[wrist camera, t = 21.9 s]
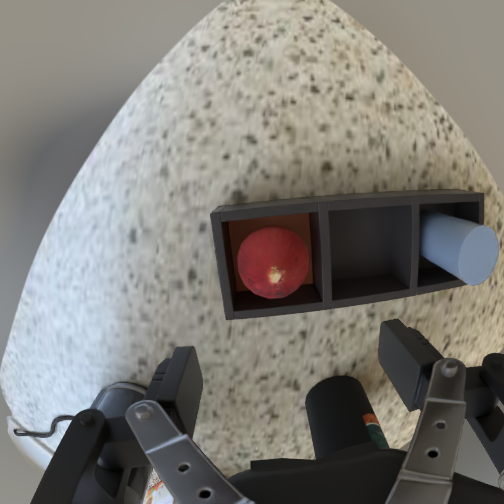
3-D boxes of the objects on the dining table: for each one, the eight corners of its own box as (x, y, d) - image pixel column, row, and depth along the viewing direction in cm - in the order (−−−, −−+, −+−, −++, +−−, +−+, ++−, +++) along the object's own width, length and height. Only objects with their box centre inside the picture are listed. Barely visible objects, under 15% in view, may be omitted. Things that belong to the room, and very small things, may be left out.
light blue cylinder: (407, 259, 28) (455, 290, 20) (408, 211, 27) (460, 227, 18) (444, 254, 28) (495, 280, 19) (445, 208, 27) (500, 223, 18)
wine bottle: (316, 372, 32) (377, 629, 3) (372, 377, 33) (466, 590, 4) (297, 416, 34) (326, 635, 5) (349, 419, 35) (407, 613, 6)
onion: (303, 277, 29) (319, 314, 21) (242, 282, 29) (238, 321, 21) (300, 217, 27) (317, 234, 19) (236, 222, 27) (229, 241, 20)
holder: (230, 297, 30) (225, 320, 25) (217, 206, 28) (209, 213, 23) (453, 267, 29) (479, 282, 24) (456, 188, 27) (484, 193, 22)
